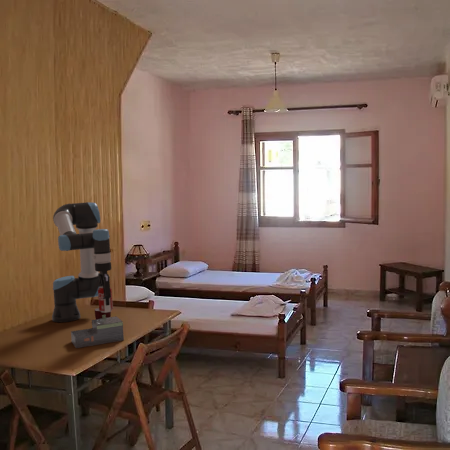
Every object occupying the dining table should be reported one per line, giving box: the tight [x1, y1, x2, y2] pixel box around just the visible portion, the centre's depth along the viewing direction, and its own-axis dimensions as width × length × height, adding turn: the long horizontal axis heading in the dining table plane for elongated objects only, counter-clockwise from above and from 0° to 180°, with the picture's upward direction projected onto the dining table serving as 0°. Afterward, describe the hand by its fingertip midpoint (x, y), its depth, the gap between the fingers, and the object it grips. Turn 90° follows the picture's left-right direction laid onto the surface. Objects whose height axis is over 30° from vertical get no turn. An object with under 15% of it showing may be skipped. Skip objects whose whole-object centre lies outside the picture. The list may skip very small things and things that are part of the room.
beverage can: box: [97, 286, 114, 313], centre depth 261 cm, size 6×6×12 cm
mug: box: [94, 307, 112, 319], centre depth 282 cm, size 11×8×10 cm
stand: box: [70, 315, 125, 349], centre depth 260 cm, size 13×22×12 cm, turn 115°
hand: (106, 310), depth 262 cm, fingers closed on beverage can, 6 cm apart
